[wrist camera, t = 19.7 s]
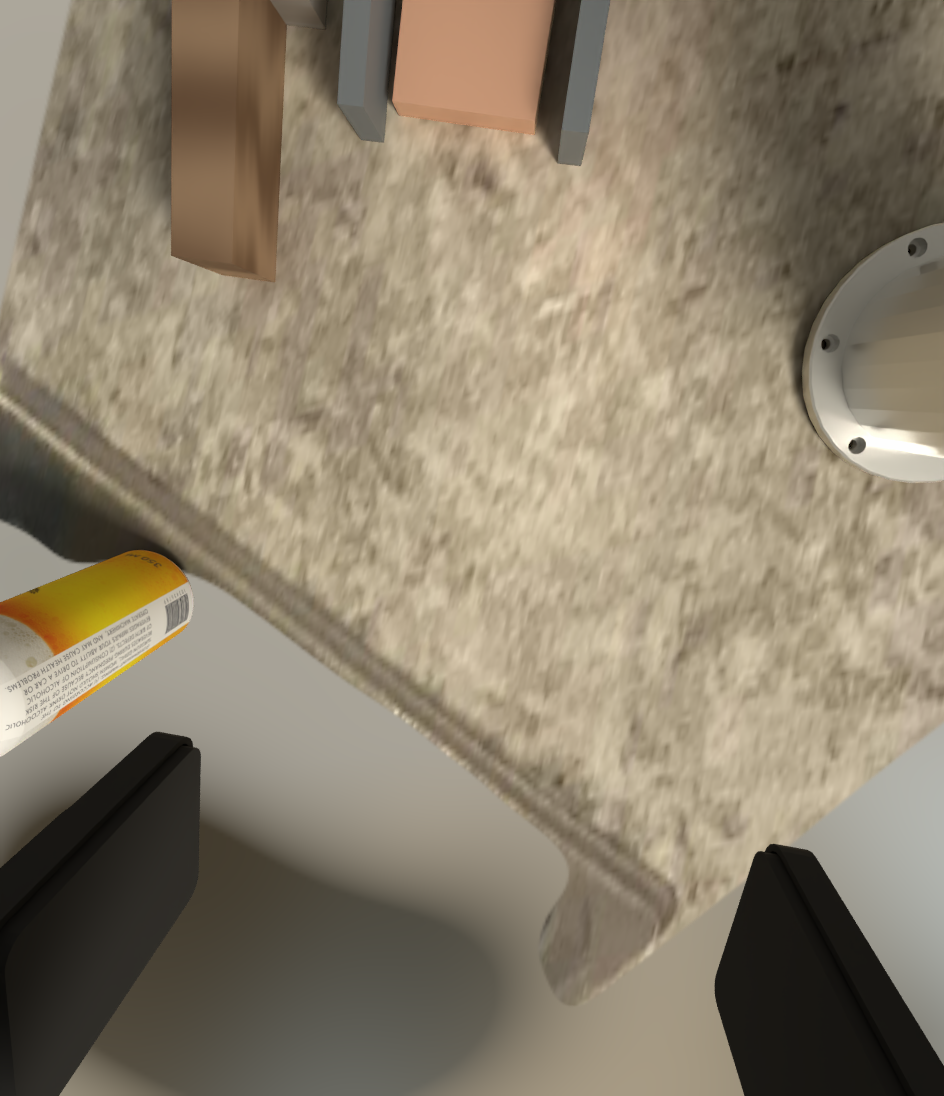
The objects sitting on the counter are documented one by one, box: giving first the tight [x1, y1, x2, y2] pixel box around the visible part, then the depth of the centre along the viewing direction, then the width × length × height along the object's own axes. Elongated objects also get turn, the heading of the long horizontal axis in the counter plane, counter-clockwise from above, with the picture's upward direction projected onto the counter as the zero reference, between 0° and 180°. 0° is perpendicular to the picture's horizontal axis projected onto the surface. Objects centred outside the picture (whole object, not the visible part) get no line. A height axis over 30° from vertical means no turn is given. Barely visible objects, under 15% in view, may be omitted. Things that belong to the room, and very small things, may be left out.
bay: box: [337, 0, 610, 166], centre depth 27 cm, size 14×10×4 cm
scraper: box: [171, 0, 327, 282], centre depth 29 cm, size 14×7×5 cm, turn 172°
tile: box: [392, 0, 556, 135], centre depth 29 cm, size 7×7×2 cm
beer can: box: [0, 550, 194, 756], centre depth 31 cm, size 6×6×15 cm
